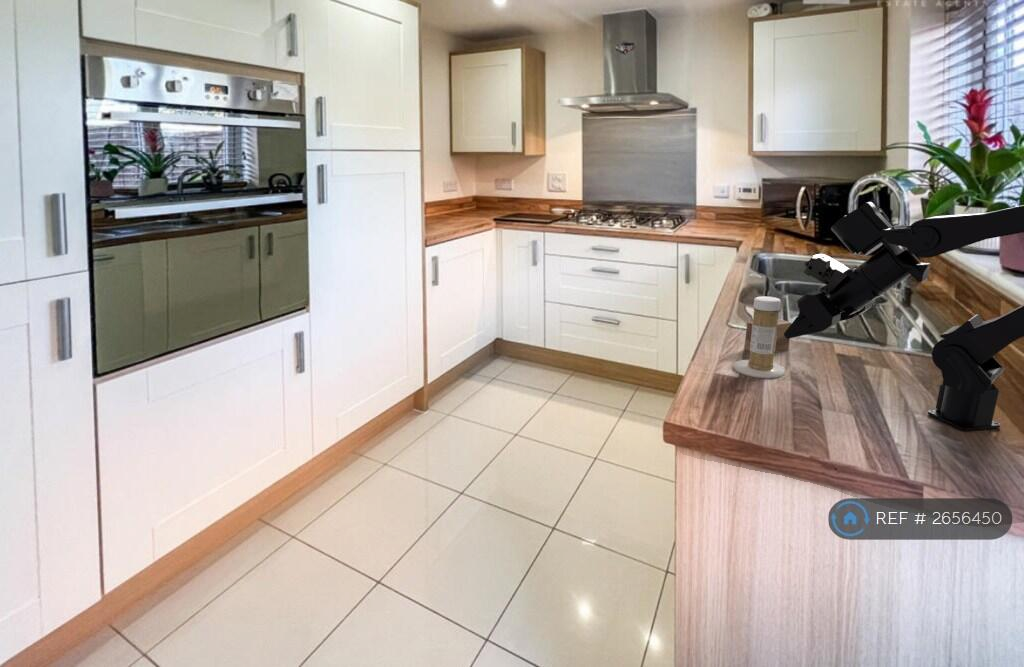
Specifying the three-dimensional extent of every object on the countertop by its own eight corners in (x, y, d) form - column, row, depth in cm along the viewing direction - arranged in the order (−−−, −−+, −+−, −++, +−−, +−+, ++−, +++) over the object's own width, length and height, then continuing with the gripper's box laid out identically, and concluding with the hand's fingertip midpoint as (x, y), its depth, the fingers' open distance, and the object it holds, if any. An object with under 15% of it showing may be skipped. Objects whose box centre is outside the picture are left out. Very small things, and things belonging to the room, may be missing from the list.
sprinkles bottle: (775, 366, 112) (783, 297, 108) (769, 372, 108) (778, 302, 104) (750, 362, 114) (757, 294, 111) (744, 368, 111) (751, 299, 107)
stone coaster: (794, 376, 108) (795, 373, 108) (749, 379, 107) (750, 376, 106) (767, 361, 116) (767, 358, 116) (724, 364, 115) (725, 361, 115)
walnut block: (788, 350, 123) (791, 322, 122) (758, 354, 120) (761, 326, 119) (773, 345, 127) (776, 318, 125) (744, 349, 124) (747, 322, 122)
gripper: (861, 234, 102) (791, 288, 113) (816, 244, 90) (743, 303, 101) (906, 284, 99) (829, 335, 109) (866, 301, 87) (784, 356, 98)
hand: (797, 331), depth 105 cm, fingers open, 9 cm apart
